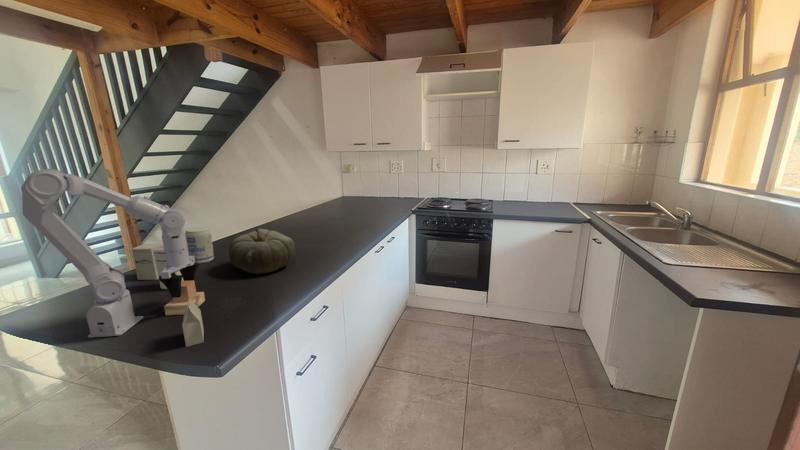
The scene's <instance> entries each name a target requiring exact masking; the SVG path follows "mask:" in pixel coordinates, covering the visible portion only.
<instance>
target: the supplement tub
mask: <svg viewBox="0 0 800 450" xmlns="http://www.w3.org/2000/svg"><path fill="white" fill-rule="evenodd" d="M184 233H185V235H186V241H187V247H188V253H189V256H194V257H195V261H194V263H198V264H204V263H209V262H211V261H213V260H214V259H215V254H214V247H213V239H212V232H211V227H209V226H195V227H189V228H186V229H184Z"/></svg>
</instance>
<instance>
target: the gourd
mask: <svg viewBox="0 0 800 450" xmlns="http://www.w3.org/2000/svg"><path fill="white" fill-rule="evenodd" d="M295 250H296V244H295V241H294V240H293V239H292V238H291V237H289V236H286V235H285V234H283V233H281V232H280V231H279V232H278V231H276V230H269V229H265V228H264V229H263V228H255V230H254V231H252V230H251V232H248V233H245V234H241V235H239V236H237V237H235V238H234V239H233V240H232V241H231V243H230V244H229V247H228V257H229V260H230V262H231V264H232V265H234V266H235V267H236V268H238V269H239V270H242V271H243V272H245V273H248V274H253V275H255V274H256V275H261V274H268V273H271V272H274V271H277V270H278V269H281V268H284V267H286V266H287V265H288V264H290V263H291V261H292V260H293V257H294V256H295Z"/></svg>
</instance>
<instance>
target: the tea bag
mask: <svg viewBox="0 0 800 450" xmlns="http://www.w3.org/2000/svg"><path fill="white" fill-rule="evenodd" d="M202 317H203V316H202V311H201V309H200V308H199V307H197V306H196V305H195V304H194V303H193V301H192V300H191V298H190V299H189V300H188V305H187V307H186V310H185V312H184V314H183V318H182V325H181V327H182V331H183V337H184V342H185V347H186V348H187V347H190V346H194V345H197V344H198V345H199V344H201V343H204V334H205V329H204V323H203V318H202Z"/></svg>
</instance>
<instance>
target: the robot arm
mask: <svg viewBox="0 0 800 450" xmlns="http://www.w3.org/2000/svg"><path fill="white" fill-rule="evenodd" d="M20 190H21V194H22V196H21V197H22V198H21V199H22V201H21V202H22V207H21V208H22V209H21V210H22V216H24V218H25V219H26V220H27V221H28V222H29V223H30V224H31V225H32V226H33V227H34V228H35V229H36V230H37V231H38V232H39V233H41V234H42V236H43V237H45V239H46V240H48V242H50V244H52V246H53V247H55V248H56V249H57V251H59V252H60V253H61V255H63V256H64V257H65V258H66V259H67V260H68V262H70V263H71V264H72V265H73V266H74V267H75V268H76V269H77V270H78V271H79V272H80V273H81V274H82V276H83V277H84V278H85V279H84V280H86V282H87V284H88V285H90V287H91V288H92V289H91V290H92V293H93V295H94V298H93V300H94V302H93V305H92V306H91V307H90V308H89V309H88V310H87V312H86V315H85V317H86V322H87V325H88V329H89V332H90V333H89V334H88V335H87V338H88V339H89V338H91V339H92V338H103V337H117V336H118V337H119V336H122V335H124V334H125V333H126V332H127V331H128V330H130V329H131V328H132V327H133V326H134V325H136V324H137V323H139V322H140V321H141V320H143V319H144V316H142V315H141V316H140V315H139V316H138V315H137V316H135V311H134V306H133V301H132V297H131V292H130V290H128V289H126V288H127V287H126V283H125V280H126V278H125V275H124V273H123V272H122V271H120V270H118V269H116V268H114V267H111V265H110V264H108V263H107V262H105V261H104V260H103V259H102V258H101V257H99V255H98V254H97V253H96V252H95V250H94V249H92V248H91V247H90V246H89V245H88V243H86V242H85V241H84V239H83V238H82V237H81V236H80V235H79V233H77V232H76V231H75V230H74V229H73V228H72V227H71V226H70V225H69V224H68V223H67V221H66V220H65V219H64V218H63V217H62V216H60V214H59V213H58V212H57V210H56V209H57V206H58V204H59V202H60V198H61V197H62V196H63V195H64V194H65V193H66V192H68V193H67V195H68V196H88V197H91V198H95V199H97V200H100V201H102V202H103V201H104V202H105V203H109V204H112V205H115V206H118V207H121V208H123V209H124V211H125V213H126V214H127V215H128V216H131V217H133V218H136V219H139V220H141V221H143V222H144V221H145V222H147V223H149V224H153V225H159V226H160V229H161V241H162V244H163V246H164V252H165V257H166V263H167V265H166V267H165V268H164V270H163V271H162V272H161V276H160V277H159V279H158V280H159V281H161V282H162V283H163V284H164V285H165V286H166V287H167V289H166V290H168V292H169V294H170V296H171V299H173V298H177V297H181V281H182V277H183V280H184V281H191V280H194V282H195V281H196V280H195V279H196V274H197V270H198V268H199V264H198V263H194V261H195V257H194V256H189V253H188V247H187V241H186V235H185V228H184V227H185V223H186V219H184V216H183V215H182V214H181V213H180V212H179V211H178V210H176V209H174V208H172V207H169V205H167V204H164V205H163V204H160V203H158V202H155V201H153V200H151V198H150V197H149V196H147V195H143V196H140V195H135V196H133V197H131V196H127V195H125V194H123V193H120V192H118V191H116V190H113V189H111V188H109V187H107V186H104V185H101V184H99V183H97V182H94V181H92V180H89V179H87V178H85V177H82V176H79V175H74V174H71V173H65V172H63V171H62V170H58V169H55V168H43V169H41V170H40V169H39V170H35V171H33V172H31V173H30V174H28V175H27V176H26V178H25V180H24V182H23V183H22V186H21V187H20ZM177 271H180V272H181V274H182V275H177V274H175V273H176V272H177Z"/></svg>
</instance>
